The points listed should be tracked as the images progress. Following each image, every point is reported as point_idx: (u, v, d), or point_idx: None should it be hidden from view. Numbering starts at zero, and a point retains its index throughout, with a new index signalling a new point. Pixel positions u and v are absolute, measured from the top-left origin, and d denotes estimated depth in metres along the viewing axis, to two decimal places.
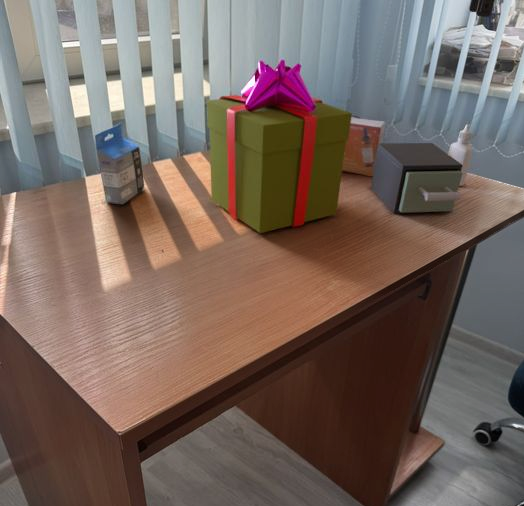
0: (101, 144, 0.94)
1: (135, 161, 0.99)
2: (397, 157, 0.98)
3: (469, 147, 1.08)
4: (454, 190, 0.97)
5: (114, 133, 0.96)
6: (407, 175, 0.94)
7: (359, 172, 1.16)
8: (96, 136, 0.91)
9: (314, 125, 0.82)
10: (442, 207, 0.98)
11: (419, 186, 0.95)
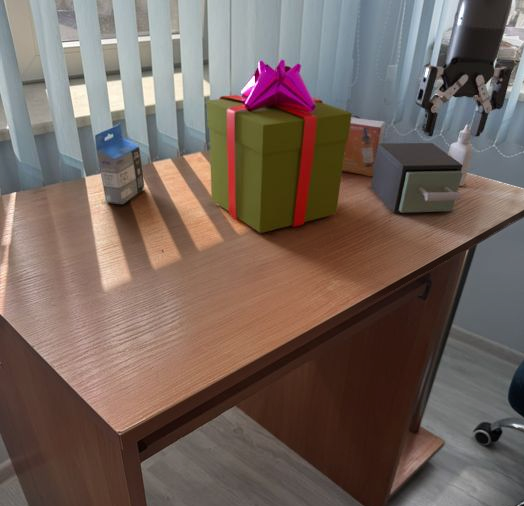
0: (101, 144, 0.94)
1: (135, 161, 0.99)
2: (397, 157, 0.98)
3: (469, 147, 1.08)
4: (454, 190, 0.97)
5: (114, 133, 0.96)
6: (407, 175, 0.94)
7: (359, 172, 1.16)
8: (96, 136, 0.91)
9: (314, 125, 0.82)
10: (442, 207, 0.98)
11: (419, 186, 0.95)
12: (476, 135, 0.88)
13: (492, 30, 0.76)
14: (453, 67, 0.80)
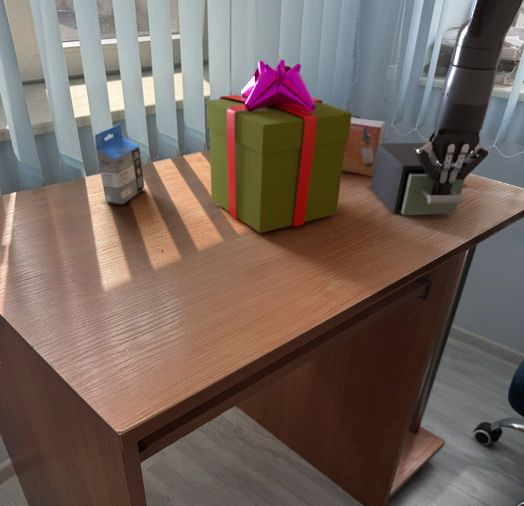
0: (101, 144, 0.94)
1: (135, 161, 0.99)
2: (397, 157, 0.98)
3: None
4: (457, 192, 0.96)
5: (114, 133, 0.96)
6: (410, 177, 0.93)
7: (359, 172, 1.16)
8: (96, 136, 0.91)
9: (314, 125, 0.82)
10: (445, 210, 0.97)
11: (422, 188, 0.94)
12: None
13: (476, 106, 0.81)
14: (437, 138, 0.85)
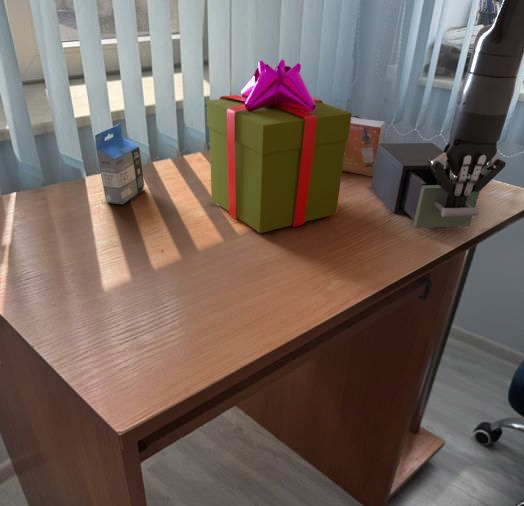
0: (101, 144, 0.94)
1: (135, 161, 0.99)
2: (397, 157, 0.98)
3: None
4: (472, 204, 0.91)
5: (114, 133, 0.96)
6: (422, 189, 0.88)
7: (359, 172, 1.16)
8: (96, 136, 0.91)
9: (314, 125, 0.82)
10: (459, 222, 0.93)
11: (435, 200, 0.90)
12: None
13: (495, 116, 0.76)
14: (453, 149, 0.81)
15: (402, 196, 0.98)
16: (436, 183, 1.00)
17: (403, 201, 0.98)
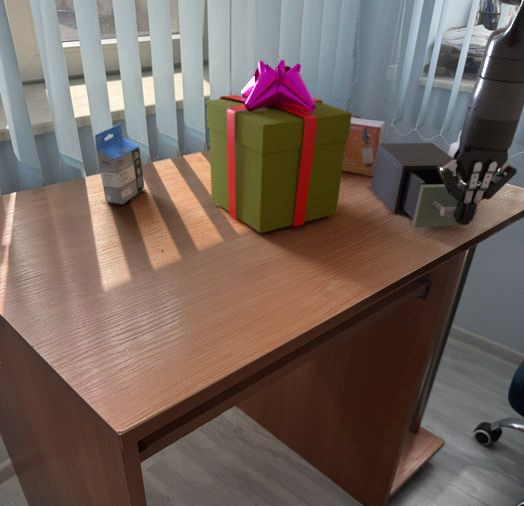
0: (101, 144, 0.94)
1: (135, 161, 0.99)
2: (397, 157, 0.98)
3: None
4: None
5: (114, 133, 0.96)
6: (422, 188, 0.89)
7: (359, 172, 1.16)
8: (96, 136, 0.91)
9: (314, 125, 0.82)
10: None
11: (434, 200, 0.90)
12: (466, 224, 0.86)
13: (507, 122, 0.74)
14: (463, 156, 0.79)
15: (401, 195, 0.98)
16: (435, 182, 1.01)
17: (403, 201, 0.98)
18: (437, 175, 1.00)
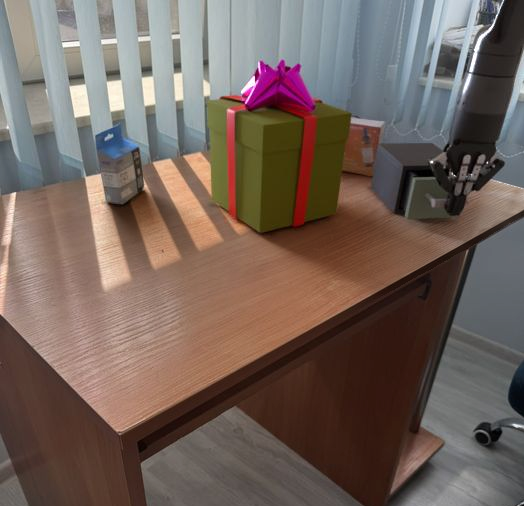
0: (101, 144, 0.94)
1: (135, 161, 0.99)
2: (397, 157, 0.98)
3: None
4: None
5: (114, 133, 0.96)
6: (413, 181, 0.92)
7: (359, 172, 1.16)
8: (96, 136, 0.91)
9: (314, 125, 0.82)
10: None
11: (426, 192, 0.93)
12: (456, 215, 0.89)
13: (494, 116, 0.76)
14: (452, 149, 0.81)
15: None
16: (428, 176, 1.03)
17: None
18: None
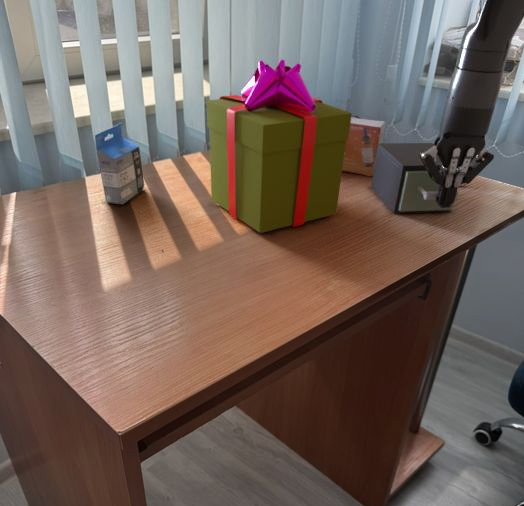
0: (101, 144, 0.94)
1: (135, 161, 0.99)
2: (397, 157, 0.98)
3: None
4: None
5: (114, 133, 0.96)
6: (406, 174, 0.94)
7: (359, 172, 1.16)
8: (96, 136, 0.91)
9: (314, 125, 0.82)
10: None
11: (418, 185, 0.95)
12: (447, 207, 0.91)
13: (482, 110, 0.79)
14: (443, 142, 0.84)
15: None
16: (421, 170, 1.06)
17: None
18: None
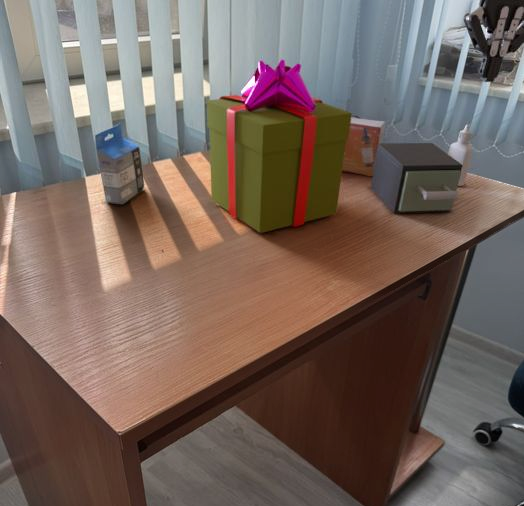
0: (101, 144, 0.94)
1: (135, 161, 0.99)
2: (397, 157, 0.98)
3: (469, 147, 1.08)
4: (453, 189, 0.97)
5: (114, 133, 0.96)
6: (406, 174, 0.94)
7: (359, 172, 1.16)
8: (96, 136, 0.91)
9: (314, 125, 0.82)
10: (441, 206, 0.99)
11: (418, 185, 0.95)
12: (491, 80, 0.86)
13: None
14: (490, 0, 0.79)
15: None
16: (421, 170, 1.06)
17: None
18: None
